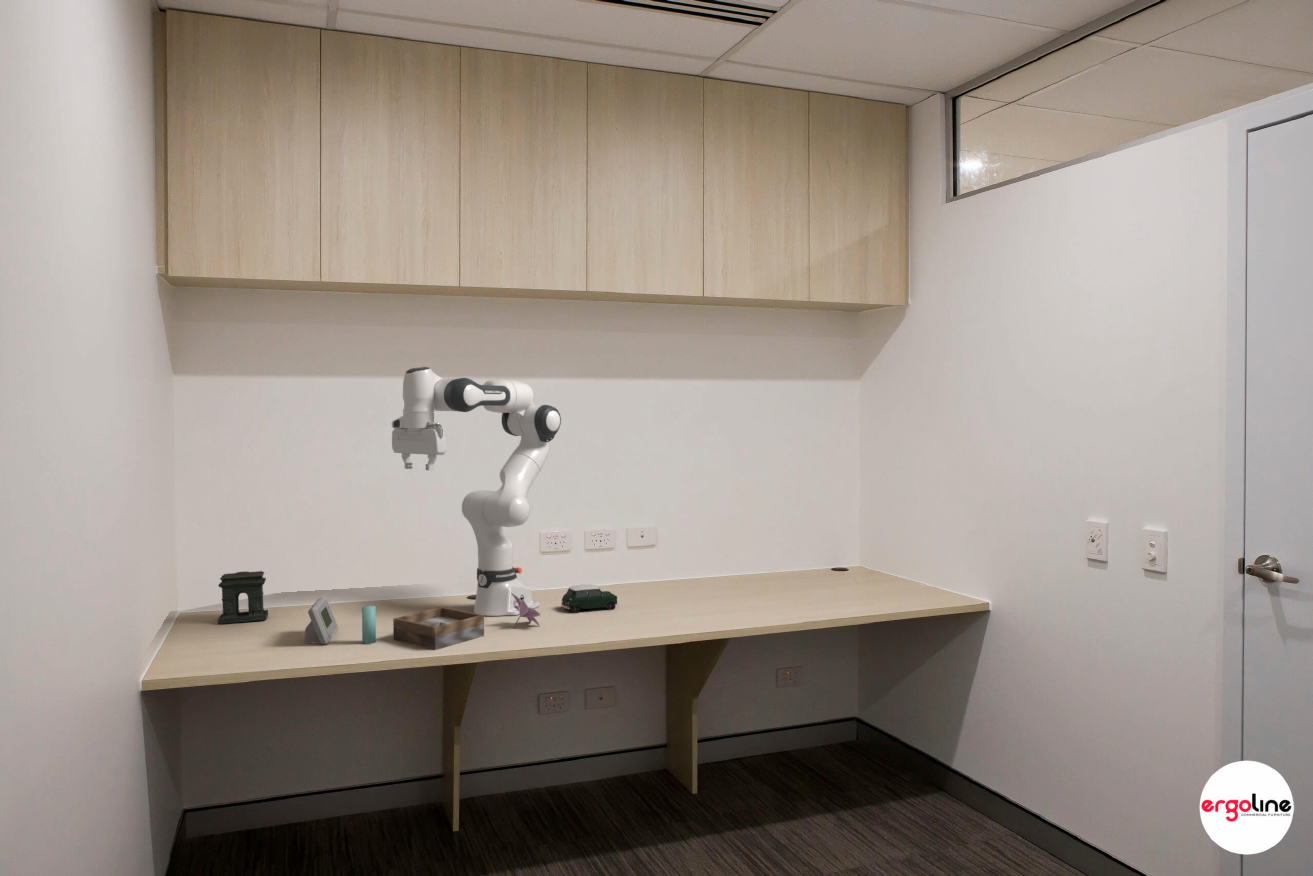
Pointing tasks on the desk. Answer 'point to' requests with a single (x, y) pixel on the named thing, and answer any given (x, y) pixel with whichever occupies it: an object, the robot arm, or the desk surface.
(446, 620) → the bore box
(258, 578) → the model
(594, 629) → the desk surface
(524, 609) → the lily
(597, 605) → the miniature car
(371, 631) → the peg
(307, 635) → the digital clock
